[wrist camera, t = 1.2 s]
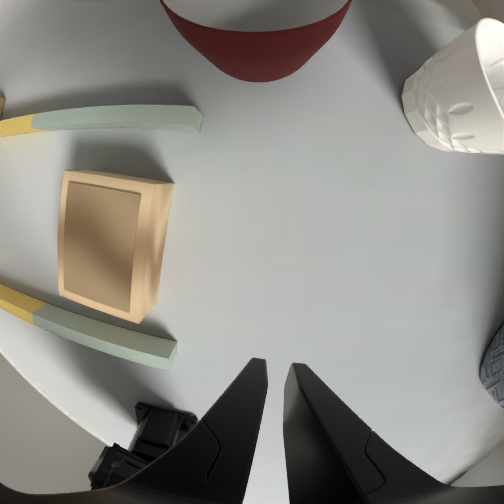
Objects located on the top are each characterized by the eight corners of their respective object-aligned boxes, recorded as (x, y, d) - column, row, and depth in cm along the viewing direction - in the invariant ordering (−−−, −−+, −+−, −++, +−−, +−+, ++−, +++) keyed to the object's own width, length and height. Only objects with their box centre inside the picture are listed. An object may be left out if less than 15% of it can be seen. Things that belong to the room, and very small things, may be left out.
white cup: (474, 161, 17) (563, 164, 7) (401, 156, 17) (498, 148, 8) (459, 74, 15) (535, 44, 5) (384, 58, 15) (454, -2, 6)
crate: (158, 299, 21) (138, 325, 17) (86, 277, 21) (57, 295, 17) (175, 183, 19) (153, 184, 15) (95, 169, 19) (62, 170, 14)
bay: (177, 353, 22) (168, 370, 19) (-20, 282, 22) (-33, 289, 19) (202, 115, 17) (194, 106, 15) (-20, 130, 17) (-35, 130, 15)
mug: (157, 48, 16) (93, -20, 6) (232, -14, 14) (215, -98, 4) (263, 129, 17) (263, 75, 8) (339, 58, 16) (391, -19, 6)
